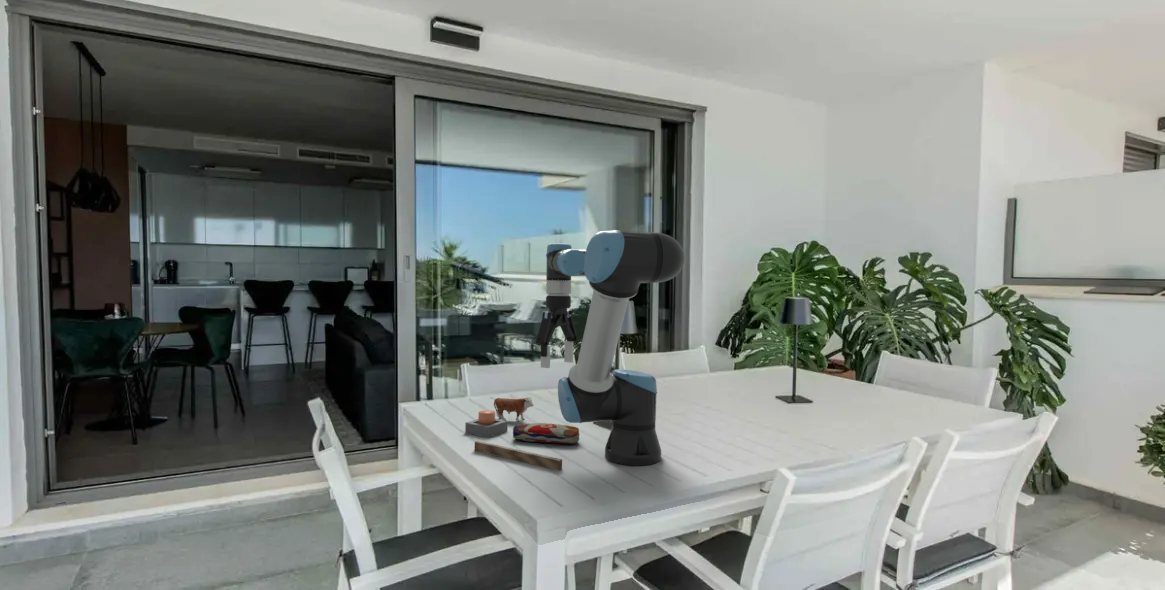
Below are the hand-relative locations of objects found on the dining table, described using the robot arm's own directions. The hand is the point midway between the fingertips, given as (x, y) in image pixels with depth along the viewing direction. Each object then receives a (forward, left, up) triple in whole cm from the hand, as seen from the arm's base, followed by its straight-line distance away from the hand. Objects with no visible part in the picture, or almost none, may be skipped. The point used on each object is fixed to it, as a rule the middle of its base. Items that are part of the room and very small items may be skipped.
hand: (557, 364), depth 187 cm
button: (+18, +11, -19) cm, 28 cm away
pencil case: (-2, +9, -21) cm, 23 cm away
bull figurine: (+20, -5, -21) cm, 30 cm away
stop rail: (-6, +27, -21) cm, 35 cm away
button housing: (+18, +11, -21) cm, 30 cm away
